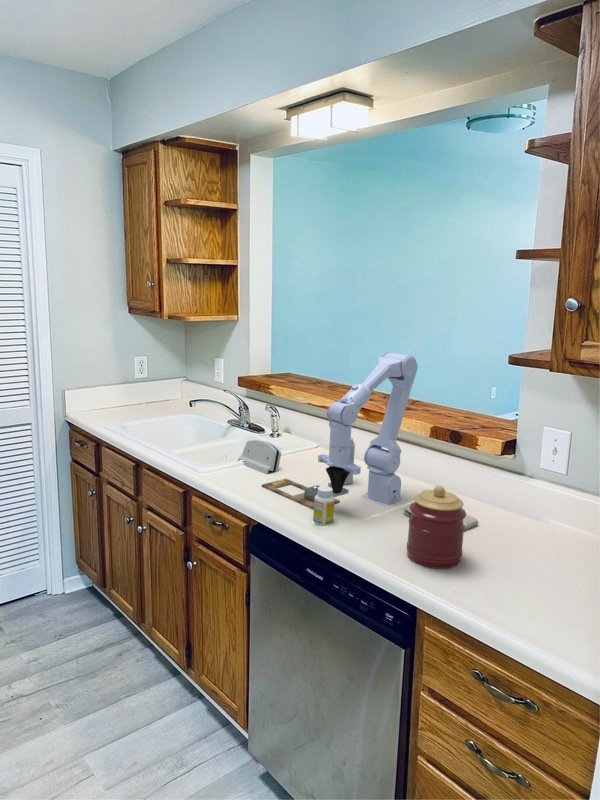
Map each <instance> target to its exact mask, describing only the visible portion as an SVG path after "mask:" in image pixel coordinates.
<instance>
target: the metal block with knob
mask: <svg viewBox="0 0 600 800" xmlns="http://www.w3.org/2000/svg"><path fill="white" fill-rule="evenodd" d="M318 487H320V485H312V486H309V487H308V488H305V491H304V492H303V493H304V498H305V499H307V500H309V501H312V502H314V498H315V496H316V495H317V494H318V493H317V491H318Z"/></svg>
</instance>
